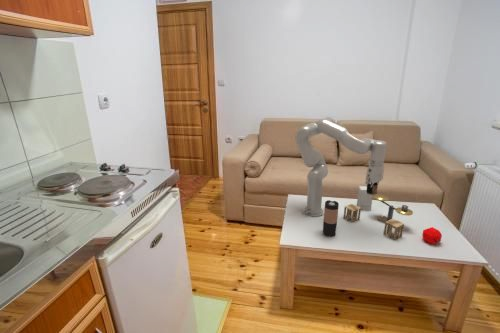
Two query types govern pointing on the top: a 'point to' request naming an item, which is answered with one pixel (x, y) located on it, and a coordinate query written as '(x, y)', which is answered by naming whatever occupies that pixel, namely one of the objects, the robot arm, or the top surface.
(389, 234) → the cover right
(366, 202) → the skincare box
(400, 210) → the balance
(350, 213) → the wooden slatted crate
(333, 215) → the travel mug
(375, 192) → the block
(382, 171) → the robot arm
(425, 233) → the ball
